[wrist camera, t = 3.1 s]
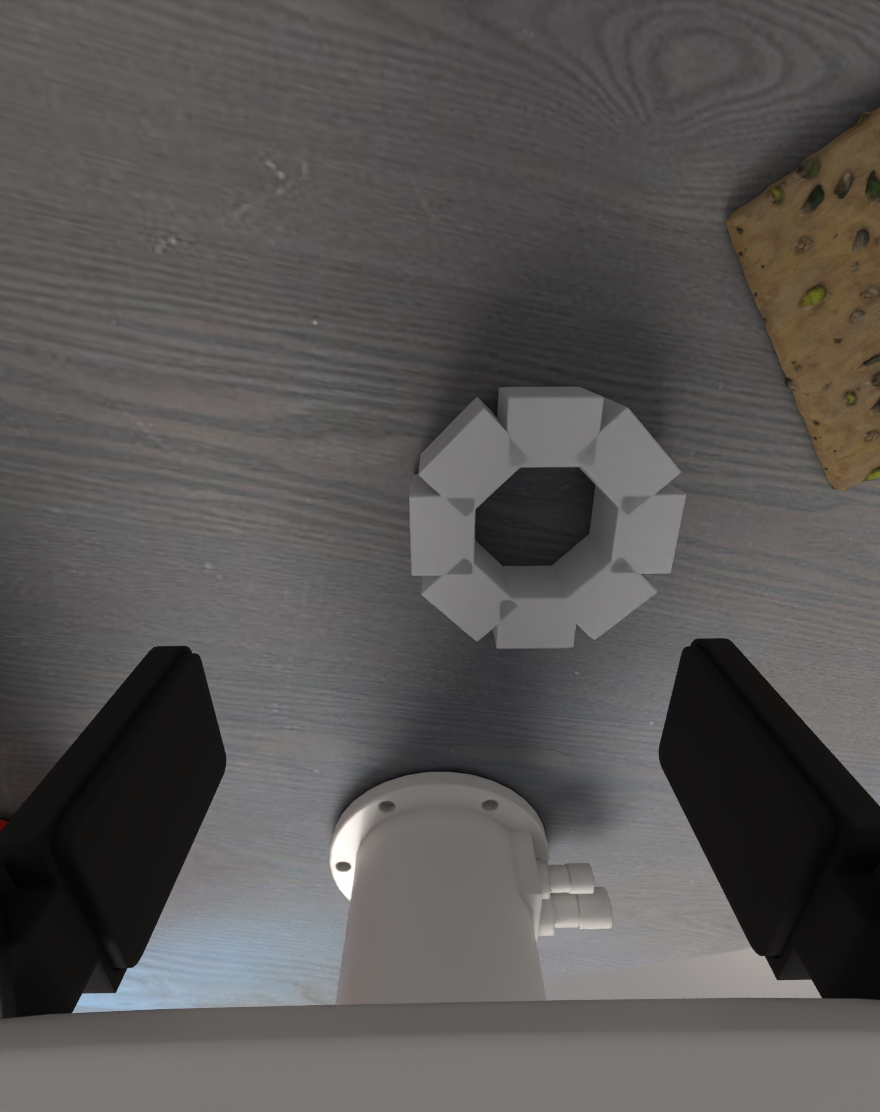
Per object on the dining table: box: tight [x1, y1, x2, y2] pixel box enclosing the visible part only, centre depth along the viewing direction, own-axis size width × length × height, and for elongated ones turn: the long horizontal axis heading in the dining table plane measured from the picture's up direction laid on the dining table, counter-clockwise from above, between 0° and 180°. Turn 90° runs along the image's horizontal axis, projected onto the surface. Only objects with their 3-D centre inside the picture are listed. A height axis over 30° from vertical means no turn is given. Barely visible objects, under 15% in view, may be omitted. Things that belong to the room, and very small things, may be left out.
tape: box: [409, 387, 686, 649], centre depth 20 cm, size 10×10×3 cm
